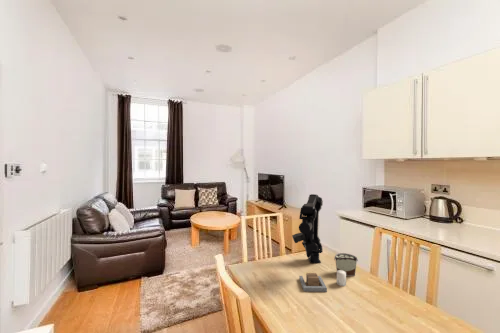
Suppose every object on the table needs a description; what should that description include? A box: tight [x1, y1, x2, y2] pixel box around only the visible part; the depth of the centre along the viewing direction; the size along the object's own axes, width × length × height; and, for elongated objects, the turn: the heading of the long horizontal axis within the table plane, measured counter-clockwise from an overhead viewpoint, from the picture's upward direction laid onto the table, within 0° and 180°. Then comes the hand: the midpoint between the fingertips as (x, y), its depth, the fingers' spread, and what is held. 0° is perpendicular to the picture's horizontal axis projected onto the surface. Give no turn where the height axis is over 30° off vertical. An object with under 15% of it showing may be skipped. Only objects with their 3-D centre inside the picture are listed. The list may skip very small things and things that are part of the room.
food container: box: [333, 252, 359, 277], centre depth 127 cm, size 12×6×10 cm, turn 84°
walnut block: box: [305, 272, 320, 286], centre depth 115 cm, size 5×5×5 cm
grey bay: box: [298, 275, 328, 293], centre depth 114 cm, size 12×11×2 cm
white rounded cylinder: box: [336, 270, 347, 287], centre depth 116 cm, size 4×4×6 cm
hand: (308, 257), depth 124 cm, fingers closed
